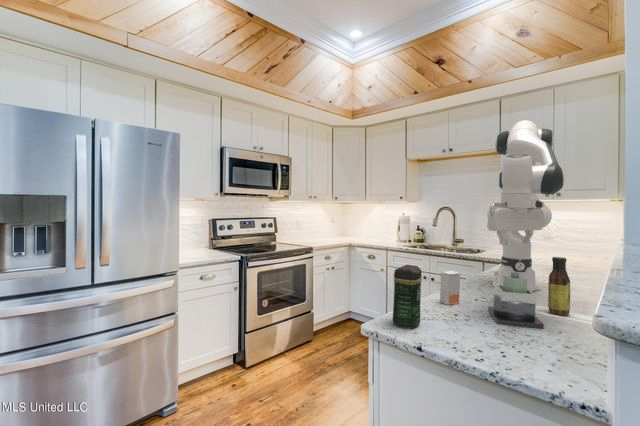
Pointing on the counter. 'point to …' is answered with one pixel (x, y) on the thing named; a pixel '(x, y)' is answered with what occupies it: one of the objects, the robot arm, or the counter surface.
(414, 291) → the coffee jar
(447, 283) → the skincare box
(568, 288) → the sauce bottle
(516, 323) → the framed dark dome
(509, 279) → the pale green block
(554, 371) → the counter surface
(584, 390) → the counter surface
